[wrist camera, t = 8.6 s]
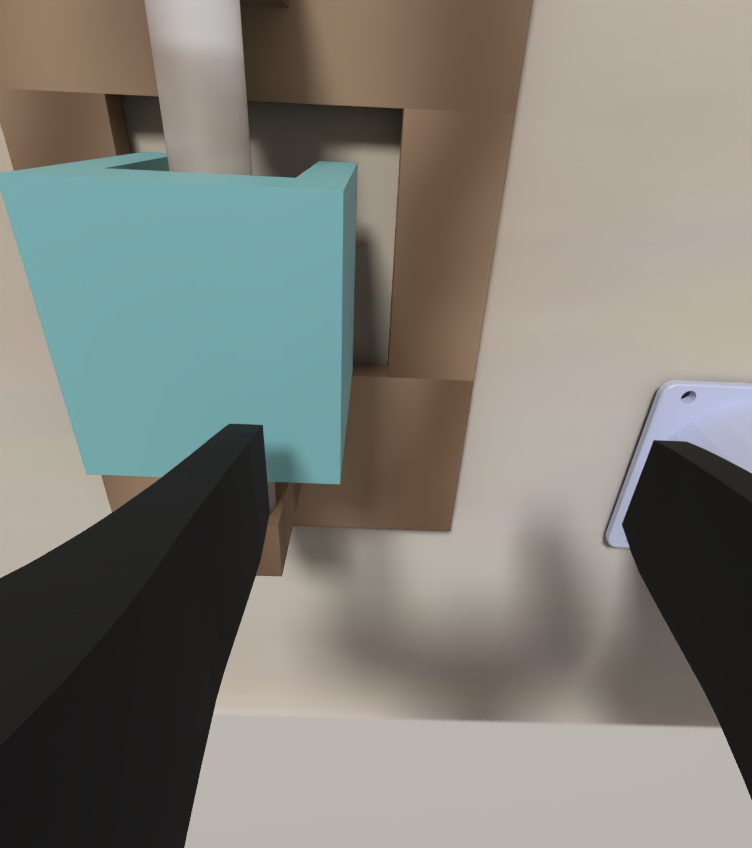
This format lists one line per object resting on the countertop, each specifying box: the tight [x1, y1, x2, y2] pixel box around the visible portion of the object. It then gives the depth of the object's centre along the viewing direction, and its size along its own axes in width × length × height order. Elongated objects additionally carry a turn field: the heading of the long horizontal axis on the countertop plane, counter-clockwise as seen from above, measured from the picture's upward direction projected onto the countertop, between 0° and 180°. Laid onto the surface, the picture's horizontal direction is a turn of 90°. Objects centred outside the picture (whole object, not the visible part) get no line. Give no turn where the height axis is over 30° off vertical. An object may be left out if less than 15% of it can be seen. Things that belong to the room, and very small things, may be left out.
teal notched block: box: [0, 152, 357, 484], centre depth 12 cm, size 6×6×6 cm
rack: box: [0, 0, 532, 576], centre depth 14 cm, size 14×22×6 cm, turn 178°
